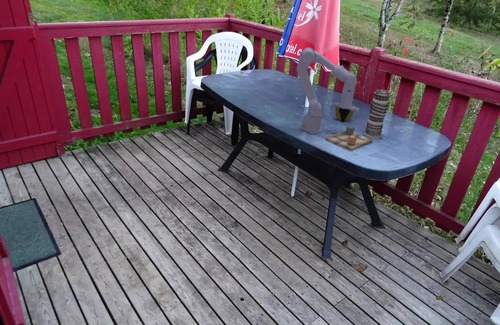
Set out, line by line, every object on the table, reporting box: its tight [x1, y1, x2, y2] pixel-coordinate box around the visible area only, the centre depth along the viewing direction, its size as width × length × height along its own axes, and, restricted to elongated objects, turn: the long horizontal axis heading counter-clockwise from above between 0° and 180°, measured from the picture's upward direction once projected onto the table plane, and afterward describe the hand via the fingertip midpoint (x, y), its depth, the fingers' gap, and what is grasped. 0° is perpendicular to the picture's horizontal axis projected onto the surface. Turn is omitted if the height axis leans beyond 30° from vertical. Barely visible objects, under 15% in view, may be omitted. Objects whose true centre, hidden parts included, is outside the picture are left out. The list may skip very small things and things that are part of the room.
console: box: [325, 130, 373, 152], centre depth 187 cm, size 16×19×2 cm
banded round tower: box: [364, 88, 391, 139], centre depth 191 cm, size 9×9×25 cm
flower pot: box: [334, 104, 357, 122], centre depth 214 cm, size 9×9×9 cm
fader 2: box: [347, 135, 357, 144], centre depth 180 cm, size 3×3×4 cm
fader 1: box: [345, 125, 356, 135], centre depth 191 cm, size 3×3×4 cm
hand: (342, 121), depth 193 cm, fingers closed
